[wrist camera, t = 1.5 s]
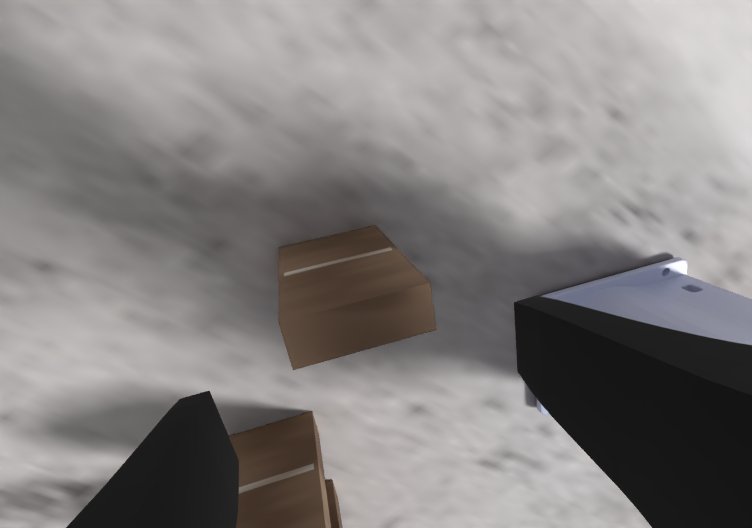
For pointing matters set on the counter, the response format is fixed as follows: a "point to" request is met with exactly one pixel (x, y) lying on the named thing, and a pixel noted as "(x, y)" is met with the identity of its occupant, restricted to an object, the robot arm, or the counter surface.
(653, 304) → the robot arm
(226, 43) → the counter surface
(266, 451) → the domino
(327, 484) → the domino
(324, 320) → the domino
